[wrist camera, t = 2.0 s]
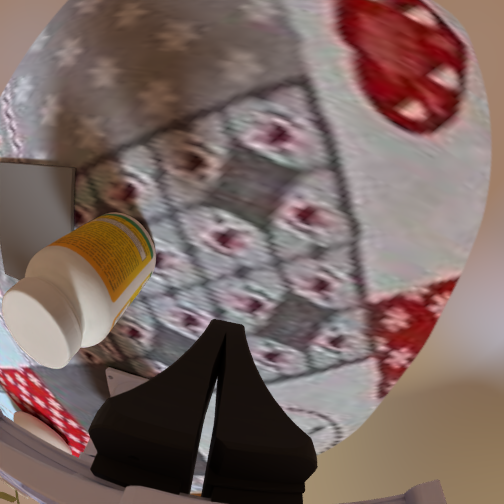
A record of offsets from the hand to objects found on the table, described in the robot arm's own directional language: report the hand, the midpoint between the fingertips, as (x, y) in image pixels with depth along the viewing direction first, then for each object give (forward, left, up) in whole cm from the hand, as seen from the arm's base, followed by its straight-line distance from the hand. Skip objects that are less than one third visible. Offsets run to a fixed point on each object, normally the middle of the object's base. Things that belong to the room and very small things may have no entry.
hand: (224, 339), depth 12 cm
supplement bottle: (0, +8, -7) cm, 10 cm away
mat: (0, +16, -6) cm, 18 cm away
